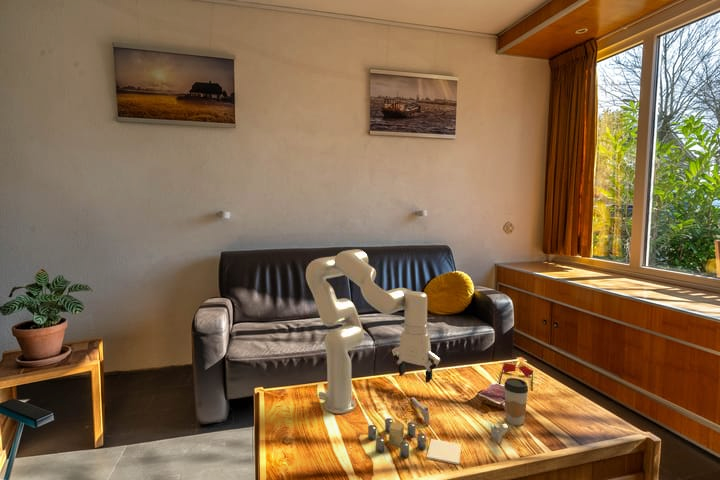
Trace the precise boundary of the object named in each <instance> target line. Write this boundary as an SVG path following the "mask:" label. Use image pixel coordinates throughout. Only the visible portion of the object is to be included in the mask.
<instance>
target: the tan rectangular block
mask: <svg viewBox="0 0 720 480" xmlns="http://www.w3.org/2000/svg"><path fill="white" fill-rule="evenodd" d="M404 426H405V425H404V423H401V422H395V421H393V422H392V423H391V426H390V428H389V433H388V446H391V447H397V448H400V443H401V442H403V441H404Z"/></svg>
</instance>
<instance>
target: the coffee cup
mask: <svg viewBox="0 0 720 480" xmlns="http://www.w3.org/2000/svg"><path fill="white" fill-rule="evenodd" d="M503 388H504V409H505V410H504V411H505V420H506V422H507V423H508V424H510V425H513V426H522V425H523V424H524V423H525V419H526V418H525V416H526V408H527V400H528V392H529V386H528V384H527V382H526V381H525V380H523V379H520V378H516V377H509V378H507V379H506V380H505V382H504V386H503Z"/></svg>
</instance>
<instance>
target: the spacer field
mask: <svg viewBox="0 0 720 480" xmlns="http://www.w3.org/2000/svg"><path fill="white" fill-rule="evenodd" d="M392 422H394V420H393V418H389V417H388V418H385V419H384V433H386V434H389V428H390V426H391V423H392ZM406 431H407V433H406V435H407V437H409V438H411V439H413V438H416V423H415V422H413V421H409V422H407V429H406ZM367 439H368V440H369V441H371V442H373V441H375V452H376V453H377V454H380V455H381V454H384V453H385V450H386V447H385V444H386V443H385V441H386V440H385V437H383V436H378V437H377V426H376V425H374V424H370V425H368V427H367ZM416 441H417V442H416V447H417V450H420V451H425V450H426V447H427V445H426V444H427V436H426V434H425V433H419V434H417V439H416ZM399 448H400V449H399V457H400V458H401V459H405V460H406V459H408V458H409V457H410V444H409V442H407V441H404V440H403V442H401V443H400V447H399Z"/></svg>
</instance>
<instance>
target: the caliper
mask: <svg viewBox="0 0 720 480" xmlns="http://www.w3.org/2000/svg"><path fill="white" fill-rule="evenodd" d="M410 399H411V401H412V403H413V404H414V405H415V406H416V407H417V409H418V410H419V411H420V414H422V416H423V422H424V423H425V425H426V426H429V425H430V413H429V407H428V406H424V405H422V404H421V403H420V402H419V401H418V400H417V399H416V398H415V397H414V396H412V397H411V398H410Z"/></svg>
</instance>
